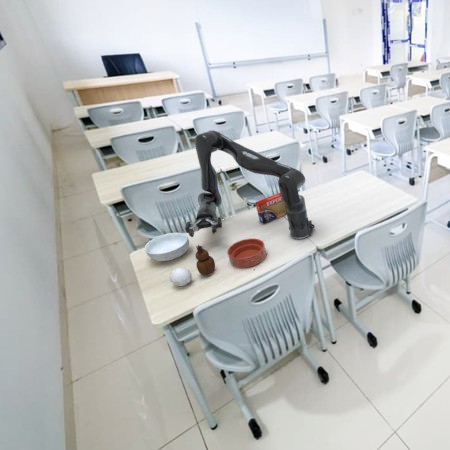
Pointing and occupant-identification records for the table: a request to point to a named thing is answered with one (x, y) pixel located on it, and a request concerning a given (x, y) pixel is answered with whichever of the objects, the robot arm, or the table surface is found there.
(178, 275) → the white oval solid
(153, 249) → the cereal bowl
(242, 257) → the bowl
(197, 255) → the wooden figurine
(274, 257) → the table surface
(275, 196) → the toy box
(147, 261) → the table surface
